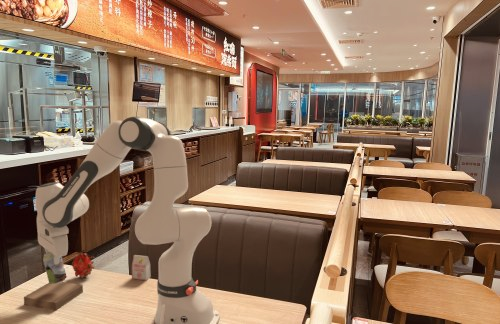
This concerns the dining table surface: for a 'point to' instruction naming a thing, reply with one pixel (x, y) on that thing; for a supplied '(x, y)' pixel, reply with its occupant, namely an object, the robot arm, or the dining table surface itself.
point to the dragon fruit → (82, 264)
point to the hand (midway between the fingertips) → (53, 261)
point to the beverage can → (54, 269)
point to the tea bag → (141, 268)
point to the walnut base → (53, 295)
